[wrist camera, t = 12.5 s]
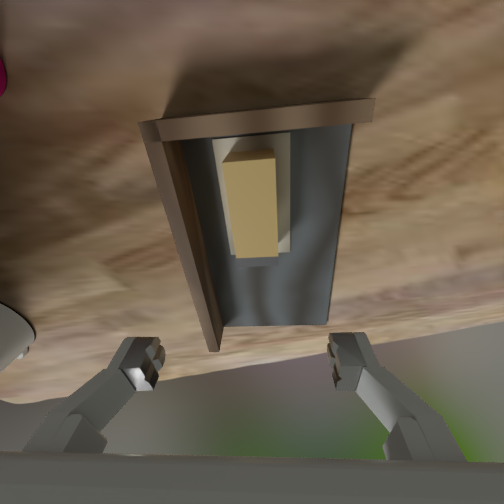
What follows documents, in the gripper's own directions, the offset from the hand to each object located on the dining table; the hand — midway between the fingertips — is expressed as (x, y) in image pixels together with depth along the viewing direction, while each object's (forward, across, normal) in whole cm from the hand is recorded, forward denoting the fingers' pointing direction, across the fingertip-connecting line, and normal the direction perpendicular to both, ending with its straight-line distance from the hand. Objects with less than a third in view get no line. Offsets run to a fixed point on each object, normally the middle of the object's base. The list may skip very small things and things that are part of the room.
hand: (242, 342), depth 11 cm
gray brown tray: (+18, -1, +6) cm, 19 cm away
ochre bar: (+18, 0, 0) cm, 18 cm away
